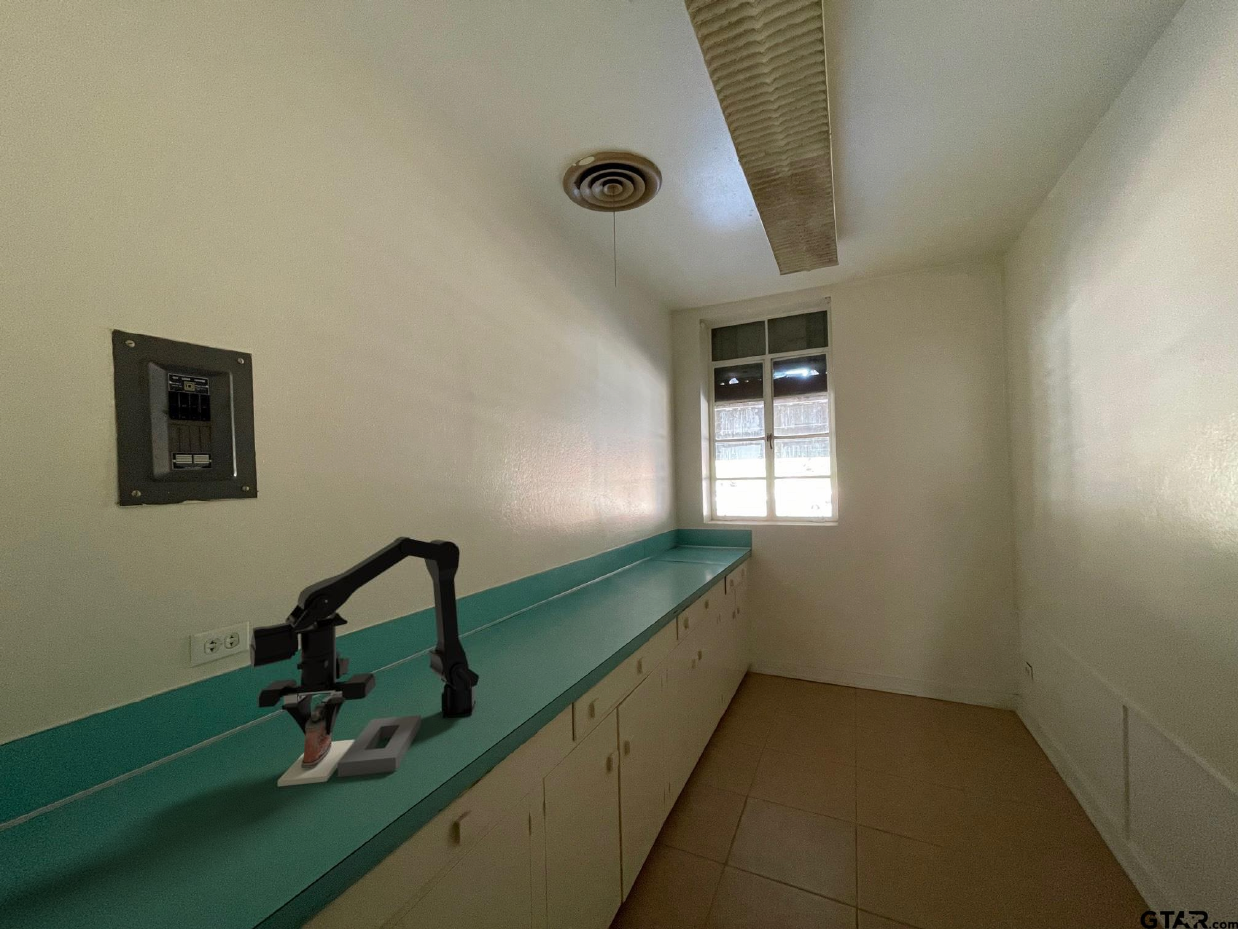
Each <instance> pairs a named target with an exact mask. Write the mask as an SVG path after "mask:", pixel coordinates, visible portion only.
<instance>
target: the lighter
mask: <svg viewBox="0 0 1238 929" xmlns="http://www.w3.org/2000/svg"><path fill="white" fill-rule="evenodd" d="M330 699H331V695H330V696H329V695H328V696H327V695H326V696H325V698H324V699H322V701H321V702H317V703H316V704H314V705H315V706H314V709H313V710H311V717H310V718H309V720H308V721H307V723H306V726H305V730H306V736H305V739H304V740H305V741H304V749H303V753H304V758H303V760H302V765H301V767H302V768H304V769H310V768H313V767H315V766H317V765H318V764H319V763H320V762H321V761H322V760H323V759H324V758H325V757H326V756H327V754H328V753H329V751H330V749H331V743H332V742H333V741H331V739H332V733H331V734H330V735H327V731H326V716H325V704H326V703H327V702H328V701H329V700H330Z"/></svg>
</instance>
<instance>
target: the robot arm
mask: <svg viewBox="0 0 1238 929" xmlns="http://www.w3.org/2000/svg"><path fill="white" fill-rule="evenodd" d="M460 553H461V552H460V549H459V546H458V545H457V544H456V543H455V542H454V541H449V540H443V539H433V540H431V541H423V540H418V539H414V538H413V537H409V536H399V537H397V538H395V539H394V540H393V541H392V542H390V543H389V544H387V545H386V546H383V548H381V549H379V550H378V551H376V552H375V553H372V554H371V555H370V556H368V557H366V558H365V559H363V560H361V561H360V562H358V563H357V564H355V565H353V566H351V568H348V569H347V570H345V571H344V572H341V573H340V574H336V575H333V576H331V577H327V578H324V579H322V580H319V581H317V582H315V583H312V584H310V585H309V586H307V587H305V588H304V589H302V590H301V591H300V593H299V595H298V598H297V604H296V606H295V607H294V608H293V609H292V611H291V612H290V613H289V615H288V616H287V617H286V618H285V620H284V621H285V622H283V623H278V624H273V625H269V626H266V625H265V626H264V625H262V626H257V627H253V628H252V635H251V641H250V644H249V661H250V666H251V668H252V669H255V668H261V667H264V666H268V665H272V664H273V665H274V664H277V663H281V662H285V661H289V660H291V659H292V658H293V656H296V653H297V652H299V647H300V661H299V662H298V663H296V670H300V684H298V682H297V680H296V679H295V678H291V679H278V680H274V681H273V682H272V683H271V684H268V685H267V686H266V687H265V688H263V689H262V690H260V692H259V693H258V696H257V703H256V704H257V706H256V707H257V708H260V709H262V708H271V707H276V705H278V704H279V703H280V702H281V699H282V698H283V705H282V706H281V710H282V711H286V712H287V713H288V714H289V715H290V716H291V718H293V720H294V721H295V722H296V724H297V725H298V726H299V729H300V730H301V731H302V733H303V734H304V736H305V737H306V730H305V726H306V723H307V721H308V720H309V718H310V717H311V716H312V705H311V703H312V699H313V696H314V695H315V696H317V695H327V694H329V695H330V696H331V699H330V700H329V701H328V702H327V703H326V704H325V716H326V731H327V735H330V734H331V735H332V733H333V731H334V728H335V725H336V721H337V719H338V716H339V713H340V710H341V708H342V706H343V704H344V703H345V702H346V701H352V700H354V701H355V700H363V699H365V698H367V696H368V695H369V694H370V693H371V692H372V690H373V689H374V688H375V687H376V684H377V683H376V677H375V675H374V674H373V673H372V672H368V673H354V674H352V675H351V676H350V677H349V678H348V679H347V680H344V681H343V680H342V681H337V680H339V679H341V678H343V675H348V673H349V666H350V657H340V652H339V651H337V648H336V647H337V646H336V644H337V643H336V642H337V640H336V639H337V636H336V635H337V634H336V633H337V632H336V629H337V628H336V627H339V626H344V625H347V624H348V622H349V621H348V620H347V619H345V618H344V617H343V616H342V615H341V614H340V613H338V612H337V611H338V610H339V609H340V608H341V607H342V606H343V605H345V604H346V602H347V601H348V600H349V599H350V598H351V596H352V595H353V594H354V593H355V592H356V591H357V590H359V589H360V588H361V587H363V586H365V585H366V584H368V583H369V582H371V581H373V580H374V579H375V578H377V577H378V576H380V575H381V574H384V573H385V572H386V571H388V570H390V569H391V568H392V567H394V566H395V565H397V564H398V563H400V562H401V561H402V560H405V559H407V557H414V558H418V559H419V558H420V559H424V562H425V566H426V569H427V571H428V573H429V575H430V577H431V578H430V579H431V580H432V585H433V586H432V588H433V599H434V600H433V601H434V610H435V611H434V613H435V623H436V624H435V626H436V635H437V636H436V637H437V642H436V646H435V648H434V649H431V650H429V651H428V655H429V658H430V660H429V662H430V663H429V668H430V669H431V670H432V671H433V673H434V674H435V675H436V676H437V677H439V678H440V681H441V682H443V683H445V684H444V686H443V690H442V692H441V694H440V695H441V696H440V697H441V698H440V699H441V701H440V702H441V703H440V704H441V706H440V707H441V712H442V714H441V717H442V718H443V719H445V718H456V717H465V716H467V717H468V716H471V715H473V712H474V709H475V707H476V704H477V701H476V700H475V687H476V686H477V685H478V682H479V680H480V679H479V678H480V675H479V674H477V673H476V672H475V671H473V670H472V669H470V667H469V666H470V665H469V661H468V658H467V657H468V656H467V654H466V651H465V649H464V647H463V644H462V642H461V641H460V633H459V632H460V631H459V621H458V620H459V619H458V609H457V596H456V586H455V584H456V583H455V578H456V574H457V572H458V570H459V566H460ZM299 635H300V646H299Z"/></svg>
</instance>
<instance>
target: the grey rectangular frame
mask: <svg viewBox="0 0 1238 929" xmlns="http://www.w3.org/2000/svg"><path fill="white" fill-rule="evenodd" d="M421 721H422V720H421V715H420V714H418V715H417V714H416V715H406V716H393V717H383V718H381V717H380V718H372V719H371V720H370V721H369V722H368V724H366V726H365V728H363V730H362V732H360V734H359V735H358V737H357V738H356V739H354V740H355V742H354V743H353V744H352V745H351V747H350V748H349V749H348V751H347V752H346V753H345V754H344V756H343V757H342V758H341V759H340V761H339V762H338V767H337V778H341V777H351V776H362V775H370V774H372V775H373V774H379V773H380V774H382V773H391V772H397V770H398V768H399V766H400V765H401V763H402V762H403V759H404V757H405V756H406V754H407V752H408V750H409V748H410V746H411V745H412V743H413V742H414V739H415V738H416V736H417V734H418V732H419V731H420V729H421V726H422V724H421ZM381 739H382V740H383V739H389V742H388V743H387V744H386V746H385V747H383V748H382V747H381V748H376V747H377V745H378V743H379V742H380V741H381Z"/></svg>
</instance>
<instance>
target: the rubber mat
mask: <svg viewBox="0 0 1238 929" xmlns="http://www.w3.org/2000/svg"><path fill="white" fill-rule="evenodd" d="M355 740H356V739H347V740H336V741H331V742H332V743H331V749H330V751H329V753H328V754H327V756H326V757H325V758H324V759H323V760H322V761H321V762H320V763H319V764H318V765H317V766H315V767H313V768H310V769H304V768H302V767H301V765H302V760H303V758H304V752H303V753H301V755H300V756H299V758H298V759H296V760H295V762H293V764H291V766H290V767H289V768H288V769H287V770H286V771H285V772H284V773H283V774H282V775H281V777H280V778H278V780H277V787H285V786H286V787H287V786H295V785H304V784H313V783H314V784H315V783H323V782H327V781H328V780H329V779H330V777H331V776H332V775H333V774H334V772H335V771H336V770H337V769H338V762H339V761H340V759H341V758H342V757H343V756H344V754H345V753H346V752H347V751H348V749H349V748H350V747H351V745H352V744H353V743H354V742H355Z"/></svg>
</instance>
